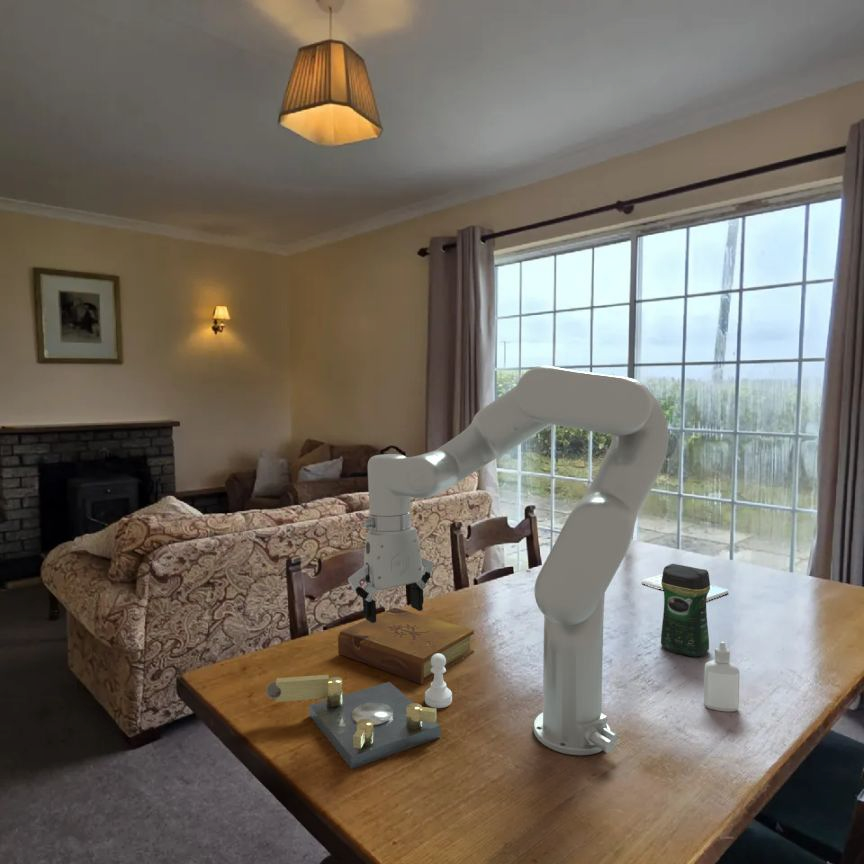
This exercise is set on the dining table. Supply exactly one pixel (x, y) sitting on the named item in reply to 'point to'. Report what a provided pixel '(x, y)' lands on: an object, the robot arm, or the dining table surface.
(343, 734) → the levelling plate
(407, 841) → the dining table surface
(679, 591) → the coffee jar
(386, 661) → the diary
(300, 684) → the brass lever
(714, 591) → the calculator
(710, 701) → the eye dropper bottle
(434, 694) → the chess pawn
